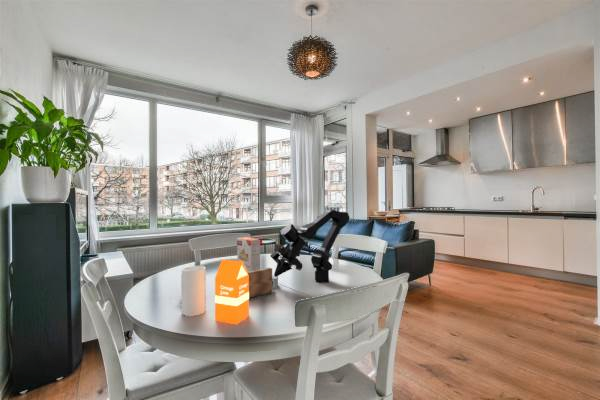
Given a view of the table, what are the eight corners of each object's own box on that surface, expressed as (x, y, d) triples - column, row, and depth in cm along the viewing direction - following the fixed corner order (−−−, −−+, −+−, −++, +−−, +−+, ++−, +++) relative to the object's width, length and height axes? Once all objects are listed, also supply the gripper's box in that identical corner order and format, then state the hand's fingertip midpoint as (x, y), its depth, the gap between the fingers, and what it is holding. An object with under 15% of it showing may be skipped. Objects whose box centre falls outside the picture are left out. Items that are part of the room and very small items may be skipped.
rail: (270, 291, 126) (270, 287, 126) (275, 294, 123) (275, 289, 123) (223, 302, 113) (223, 298, 113) (227, 305, 110) (227, 301, 110)
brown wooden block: (269, 289, 125) (269, 267, 125) (272, 291, 123) (272, 268, 123) (244, 295, 118) (244, 271, 118) (248, 297, 115) (248, 273, 115)
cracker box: (236, 276, 152) (236, 237, 152) (246, 274, 156) (246, 236, 156) (250, 281, 142) (250, 240, 142) (260, 279, 146) (260, 239, 146)
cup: (197, 317, 99) (197, 271, 99) (177, 315, 101) (176, 270, 101) (209, 308, 107) (209, 266, 107) (190, 306, 109) (190, 265, 109)
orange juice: (228, 312, 103) (228, 257, 104) (249, 315, 100) (249, 259, 100) (214, 320, 96) (214, 261, 96) (236, 324, 93) (236, 263, 93)
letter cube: (277, 285, 136) (277, 276, 136) (276, 288, 131) (276, 278, 131) (268, 285, 136) (268, 275, 136) (266, 288, 132) (266, 278, 132)
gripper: (273, 235, 136) (253, 261, 129) (297, 239, 121) (275, 269, 114) (287, 250, 141) (268, 275, 134) (311, 255, 126) (291, 285, 119)
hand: (274, 276), depth 125 cm, fingers closed
